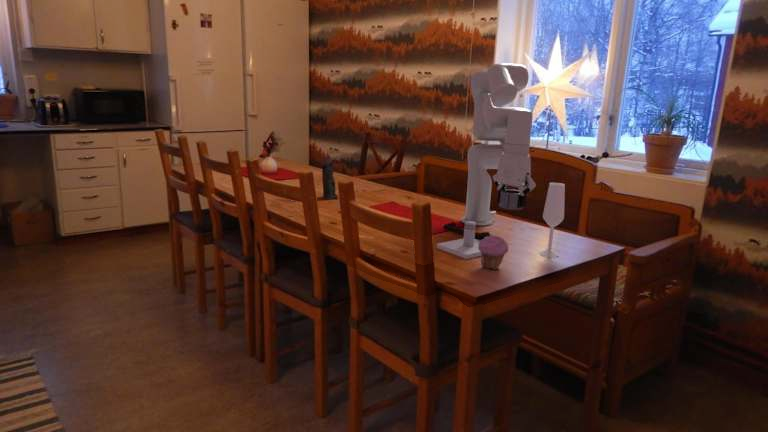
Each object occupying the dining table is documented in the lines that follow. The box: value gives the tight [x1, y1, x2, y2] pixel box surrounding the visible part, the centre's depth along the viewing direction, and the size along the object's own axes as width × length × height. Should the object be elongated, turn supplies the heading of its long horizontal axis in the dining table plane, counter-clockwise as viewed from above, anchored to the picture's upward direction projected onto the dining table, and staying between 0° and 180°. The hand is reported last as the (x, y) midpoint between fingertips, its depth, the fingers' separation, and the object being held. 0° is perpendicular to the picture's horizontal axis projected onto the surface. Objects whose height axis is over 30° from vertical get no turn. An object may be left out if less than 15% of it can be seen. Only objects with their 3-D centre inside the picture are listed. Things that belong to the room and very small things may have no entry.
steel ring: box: [498, 188, 524, 211], centre depth 171 cm, size 7×7×5 cm
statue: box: [321, 155, 339, 200], centre depth 250 cm, size 7×7×20 cm
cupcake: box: [478, 235, 509, 271], centre depth 163 cm, size 9×9×10 cm
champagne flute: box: [538, 182, 566, 258], centre depth 177 cm, size 7×7×24 cm
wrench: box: [443, 221, 491, 241], centre depth 197 cm, size 5×5×30 cm
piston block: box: [436, 221, 482, 260], centre depth 180 cm, size 16×14×10 cm
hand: (511, 204), depth 171 cm, fingers closed on steel ring, 7 cm apart
